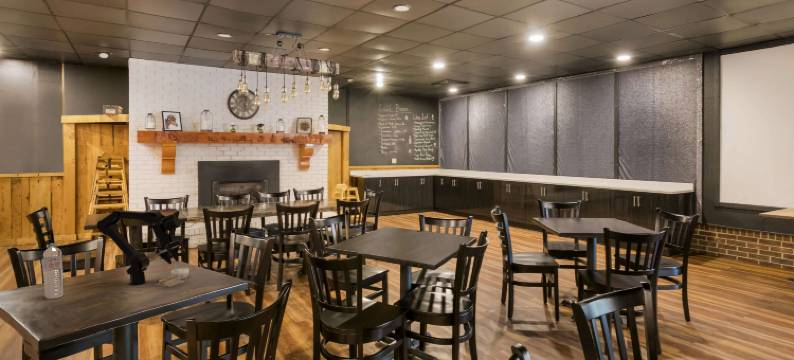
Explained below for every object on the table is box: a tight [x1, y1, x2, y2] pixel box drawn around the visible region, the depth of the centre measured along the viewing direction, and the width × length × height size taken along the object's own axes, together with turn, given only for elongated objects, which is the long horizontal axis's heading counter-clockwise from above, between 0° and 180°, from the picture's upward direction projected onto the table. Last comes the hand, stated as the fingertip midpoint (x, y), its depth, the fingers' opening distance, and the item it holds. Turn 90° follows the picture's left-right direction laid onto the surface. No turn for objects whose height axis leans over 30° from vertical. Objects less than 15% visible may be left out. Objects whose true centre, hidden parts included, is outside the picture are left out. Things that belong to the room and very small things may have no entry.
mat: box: [154, 280, 185, 287], centre depth 231 cm, size 10×10×1 cm
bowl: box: [170, 267, 190, 280], centre depth 242 cm, size 8×8×5 cm
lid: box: [158, 275, 182, 287], centre depth 231 cm, size 6×8×2 cm
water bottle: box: [42, 242, 64, 300], centre depth 209 cm, size 7×7×25 cm
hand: (174, 262), depth 229 cm, fingers open, 9 cm apart
